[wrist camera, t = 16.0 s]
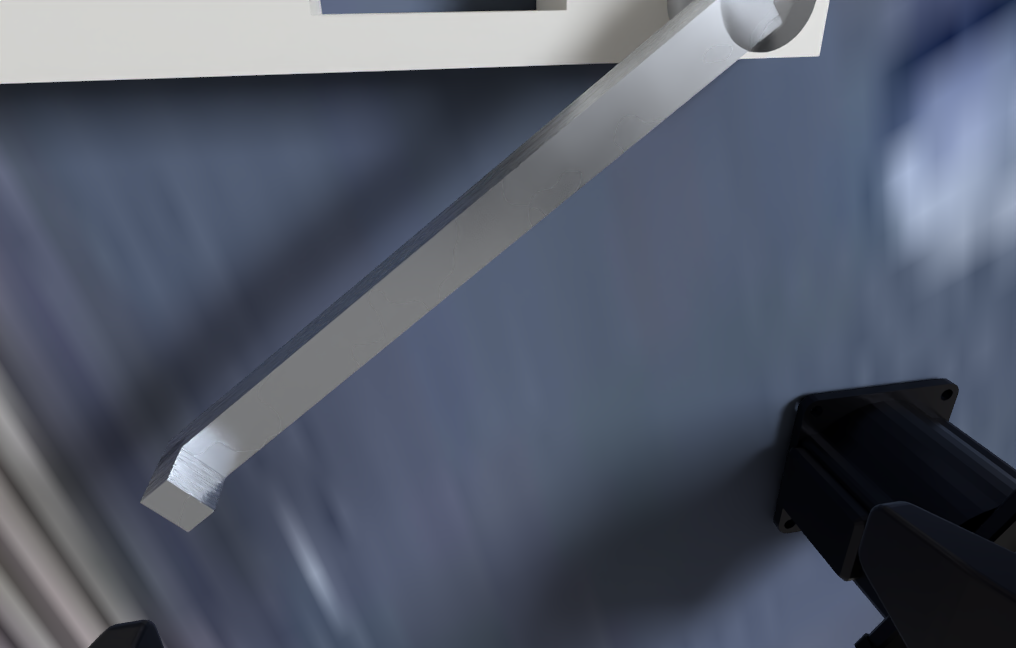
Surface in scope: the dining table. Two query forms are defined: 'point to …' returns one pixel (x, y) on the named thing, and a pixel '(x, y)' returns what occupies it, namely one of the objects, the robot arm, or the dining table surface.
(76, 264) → the dining table surface
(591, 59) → the power strip
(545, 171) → the clip
